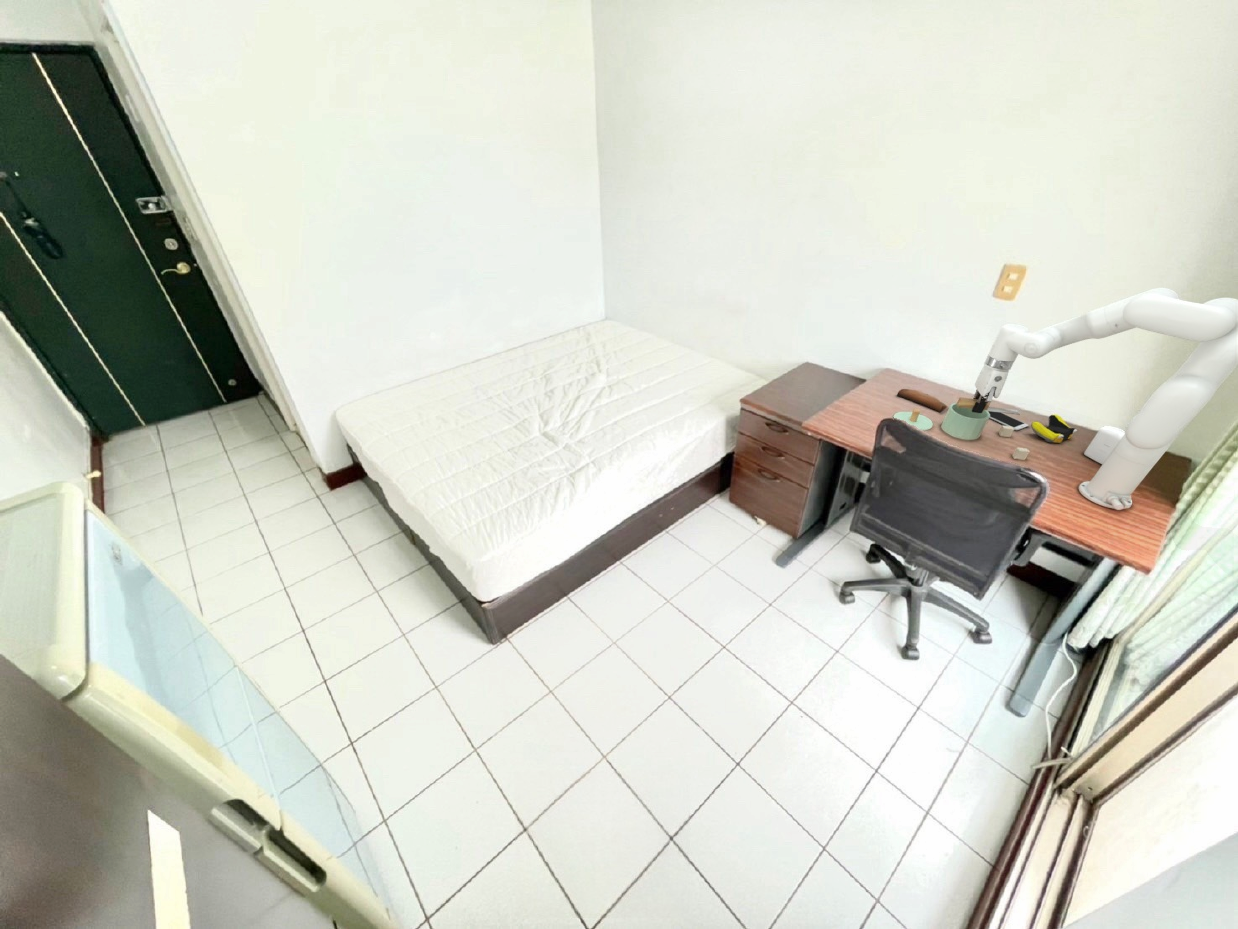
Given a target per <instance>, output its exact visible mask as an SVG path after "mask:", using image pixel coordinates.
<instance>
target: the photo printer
mask: <svg viewBox="0 0 1238 929" xmlns="http://www.w3.org/2000/svg"><path fill="white" fill-rule="evenodd" d="M1124 434H1125V430H1123V429H1121V428H1119V427H1115V426H1111V425H1104V426H1102V427H1101V428H1100V429H1098V431H1097V433H1096V434H1095V436H1094V437H1093V438H1092V440H1091V441H1090V443H1089V445H1088V446H1087V448H1086V449H1085V450H1084V452H1083V455H1084V456H1086V457H1088V458H1090V459H1091V460H1093V461H1095V462H1097V463H1098V464H1100V465H1102V464H1103V463H1104V462H1105V460H1106V459H1107V457H1108V456H1109V455H1110V453H1111V452H1112V451H1113V449H1114V448H1115V447H1116V445H1117V444H1118V442H1119V441H1120V440H1121V438H1122V437H1123V436H1124Z"/></svg>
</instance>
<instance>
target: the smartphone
mask: <svg viewBox="0 0 1238 929" xmlns="http://www.w3.org/2000/svg"><path fill="white" fill-rule="evenodd" d="M988 412H989V413H990V417H989V420H992V421H995V422H996V423H999V424H1000V425H1002V426H1011V427H1013V428H1014V431H1019V430H1022V429H1025V428H1027V427H1029V424H1028V423H1025V422H1023V421H1021V420H1018V419H1016V418H1014V417H1012V416H1010V415H1008V414H1006V413H1000V412H992V411H988Z"/></svg>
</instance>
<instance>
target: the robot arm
mask: <svg viewBox="0 0 1238 929" xmlns="http://www.w3.org/2000/svg"><path fill="white" fill-rule="evenodd" d="M1136 328H1137V329H1141V330H1145V331H1148V332H1151V333H1156V334H1161V335H1164V336H1168V337H1173V338H1177V339H1181V340H1186V341H1191V342H1192V341H1193V342H1199V344H1198V345H1197V346H1196V347H1195V349H1194V350H1193V351H1192V352H1191V353H1190V355H1189V356H1188V358H1187V359H1186V361H1184V362H1183V364H1182V365H1181V366H1180V367H1179V369H1178V370H1177V371H1176V372H1175V373H1174V374H1172V376H1170V377H1169V378H1167V380H1165V381H1164V382H1163V383H1162V384H1161V385H1159V387H1157V388H1156V390H1155V391H1154V392H1153V393H1152V394H1151V395H1150V397H1149V398H1148V399H1147V400H1146V401H1145V403H1144V404H1143V405H1142V406H1141V408H1139V410H1138V412H1136V414H1135V415H1133V416H1134V417H1132V418H1131V420H1130V421H1129V422H1128V424H1127V425H1126V427H1125V430H1124V431H1125V434H1124V436H1123V437H1122V438H1121V440H1120V441H1119V442H1118V444H1117V445H1116V447H1115V448H1114V449H1113V451H1112V452H1111V453H1110V455H1109V456H1108V457H1107V459H1106V460H1105V462H1104V463H1103V464H1101V466H1100V468H1099V469H1098V470H1097V471H1096V472H1095V474H1094V475H1093V477H1092V478H1091V480H1089V481H1088V480H1087V481H1083V482H1081V483H1080V484H1079V485H1078V491H1079V493H1080V494H1081V495H1082V496H1083V497H1084V498H1086V499H1087V500H1088V501H1090V502H1092V503H1094V504H1096V505H1099V506H1101V507H1104V508H1108V509H1112V510H1113V509H1114V510H1115V511H1121V510H1127V509H1130V508H1131V506H1132V504H1133V500H1132V498H1133V497H1132V494H1133V493H1134V492H1135V490H1136V489H1138V488H1137V487H1138V486H1139V485H1140V484H1141V483H1142V481H1143V480H1144V479H1145V478H1146V477H1147V475H1148V474H1149V473H1150V472H1151V470H1152V469H1153V468H1154V466H1155V465H1156V464H1157V463H1158V461H1159V460H1160V459H1161V458H1162V457H1163V455H1164V454H1165V453H1166V452H1167V450H1168V449H1169V448H1170V447H1171V445H1173V443H1174V442H1175V441H1176V439H1178V437H1179V436H1180V435H1181V434H1182V432H1183V431H1184V430H1185V428H1186V427H1187V426H1188V425H1189V424H1190V423H1191V422H1192V421H1193V419H1194V418H1195V417H1196V416H1197V415H1198V414H1199V413H1200V412H1201V411H1202V410H1203V409H1204V407H1205V406H1206V405H1207V404H1208V403H1209V402H1210V401H1211V400H1212V399H1213V397H1214V395H1215V394H1216V392H1217V390H1218V389H1219V388H1220V386H1221V385H1222V384H1223V383H1224V381H1225V380H1227V378H1228V377H1229V376H1230V375H1231V374H1232V373H1233V371H1234V370H1235V369H1236V367H1238V299H1237V298H1233V297H1219V298H1218V297H1217V298H1214V299H1210V300H1208V301H1205V302H1203V303H1198V302H1193V301H1188V300H1187V301H1186V300H1182V299H1180V296H1179V294H1178V293H1177V292H1176V291H1175V290H1173V289H1172V288H1168V287H1156V288H1151V289H1148V290H1146V291H1143V292H1140V293H1136V294H1134V295H1131V296H1129V297H1126V298H1123V299H1120V300H1118V301H1115V302H1112V303H1109V304H1106V305H1103V306H1101V307H1098V308H1095V309H1092V310H1090V311H1087V312H1085V313H1083V314H1081V315H1078V316H1075V317H1072V318H1069V319H1066V320H1062V321H1061V322H1057V323H1055V324H1053V325H1050V326H1047V327H1044V328H1041V329H1039V330H1037V331H1035V332H1030V330H1029V328H1028V327H1027V326H1024V325H1022V324H1017V323H1006V324H1004V325H1002V326H1001V327H1000V329H999V331H998V334H997V335H996V337H995V339H994V342H993V344H992V347H991V348H990V350H989V353H988V355H987V356H986V358H985V361H984V363H983V365H984V366H983V367H982V369H981V370H980V372H979V374H978V376H977V378H976V381H975V383H974V385H975V389H976V390H975V393H974V395H973V398H972V399H978V402H976V403H975V405H974V407H973V409H972V412H974V413H982V412H983V410H984V408H985V406H986V404H987V403H988V402H990V403H992V401H993V398H995V399H997V398H999V397H1000V395H1001V392H1002V390H1003V388H1004V386H1005V384H1006V381H1007V378H1008V376H1009V373H1010V372H1009V371H1010V370H1011V369H1012V367H1013V365H1014V364H1015V361H1016V359H1017V357H1018V356H1019V355H1020V356H1022V357H1025V358H1027V359H1031V360H1035V359H1040V358H1043V357H1045V356H1046V355H1048V354H1050V353H1051V352H1053V351H1055V350H1057V349H1060V348H1063V347H1066V346H1069V345H1072V344H1075V343H1079V342H1083V341H1086V340H1091V339H1093V340H1094V339H1095V340H1100V339H1101V340H1102V339H1104V338H1107V337H1111V336H1115V335H1117V334H1120V333H1123V332H1126V331H1130V330H1133V329H1136Z"/></svg>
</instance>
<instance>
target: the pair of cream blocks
mask: <svg viewBox="0 0 1238 929" xmlns="http://www.w3.org/2000/svg"><path fill="white" fill-rule="evenodd" d="M1014 431H1015V430H1014V428H1013V427H1011V426H1005V425H1001V427H1000V429H999V432H998V435H999V437H1005V438H1011V436H1012V434H1013V433H1014ZM1029 454H1030V450H1029V448H1027V447H1026V448H1025V447H1019V446H1018V447H1016V448H1015V449H1014V451H1013V453H1012V455H1011V456H1012V457H1013V459H1014V460H1021V461H1025V460H1026V459H1027V457H1028V455H1029Z"/></svg>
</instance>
